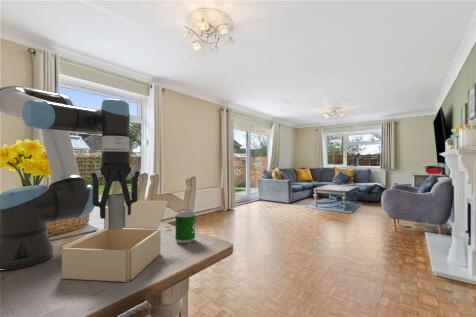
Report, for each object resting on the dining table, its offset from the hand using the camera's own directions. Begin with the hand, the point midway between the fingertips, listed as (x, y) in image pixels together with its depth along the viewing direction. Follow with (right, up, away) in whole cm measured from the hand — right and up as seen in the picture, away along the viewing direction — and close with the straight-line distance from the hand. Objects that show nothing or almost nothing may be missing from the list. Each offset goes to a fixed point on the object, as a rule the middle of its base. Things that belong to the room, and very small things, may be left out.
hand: (115, 227), depth 72 cm
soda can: (+16, -12, +21) cm, 29 cm away
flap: (+1, -3, +10) cm, 10 cm away
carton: (0, -11, 0) cm, 12 cm away
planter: (0, 0, 0) cm, 1 cm away
